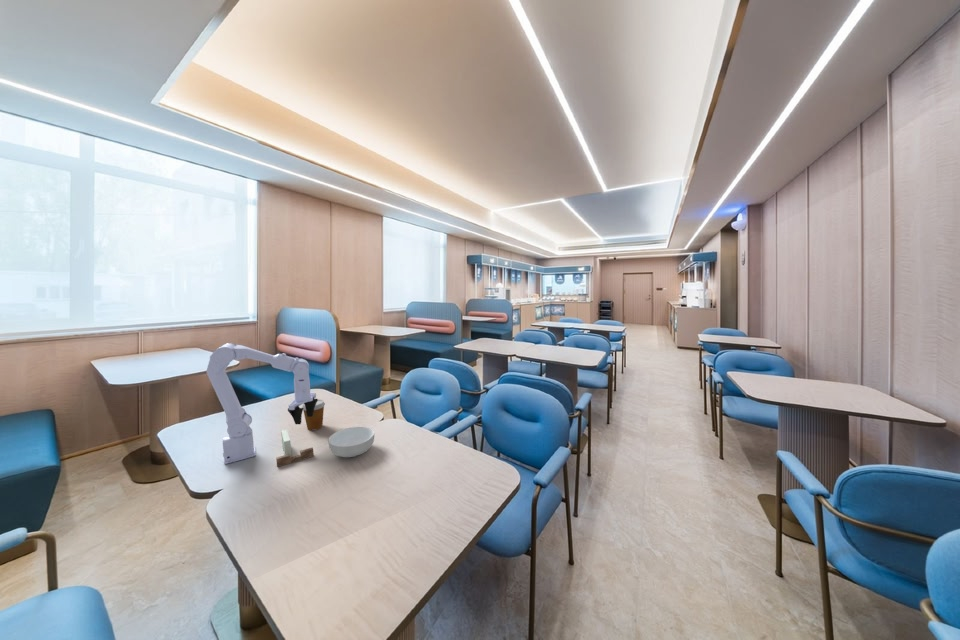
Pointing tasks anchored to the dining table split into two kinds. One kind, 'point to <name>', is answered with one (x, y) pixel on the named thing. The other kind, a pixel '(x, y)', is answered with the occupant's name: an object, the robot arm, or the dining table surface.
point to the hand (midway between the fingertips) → (304, 420)
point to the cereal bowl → (351, 441)
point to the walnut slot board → (294, 457)
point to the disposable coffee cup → (315, 416)
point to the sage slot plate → (286, 442)
